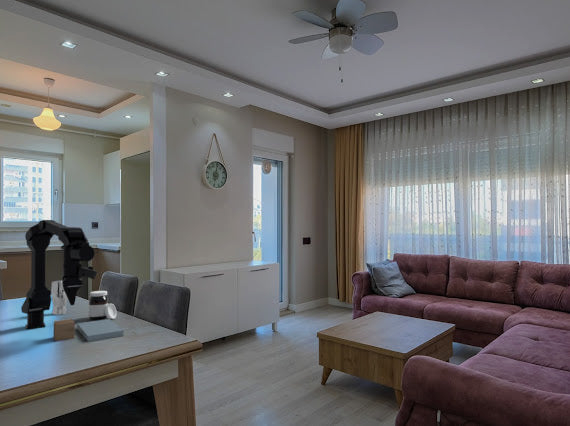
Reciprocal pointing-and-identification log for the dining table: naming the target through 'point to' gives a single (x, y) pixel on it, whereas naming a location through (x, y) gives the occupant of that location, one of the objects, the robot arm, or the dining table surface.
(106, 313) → the spread jar
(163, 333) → the dining table surface
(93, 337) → the slate board
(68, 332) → the walnut cube
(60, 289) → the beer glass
